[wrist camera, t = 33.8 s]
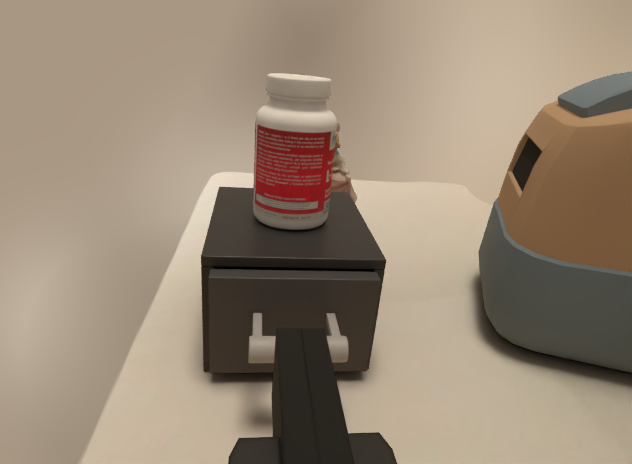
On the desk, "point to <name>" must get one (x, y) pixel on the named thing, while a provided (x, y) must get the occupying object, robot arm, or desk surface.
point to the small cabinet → (285, 244)
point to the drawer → (289, 314)
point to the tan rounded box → (567, 231)
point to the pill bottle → (294, 153)
